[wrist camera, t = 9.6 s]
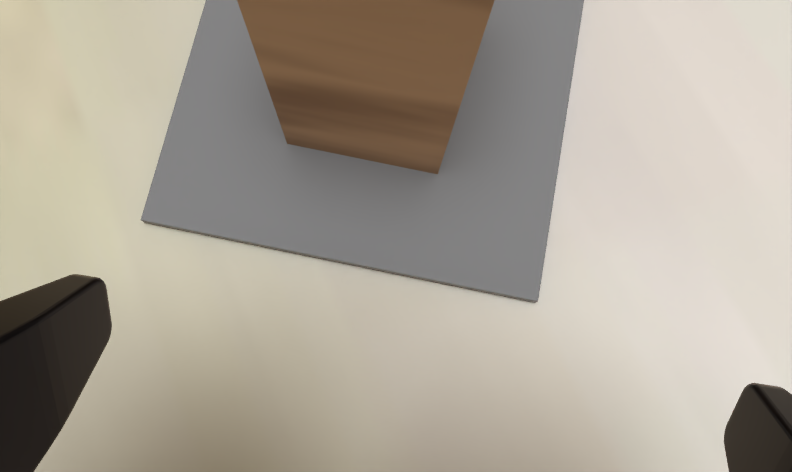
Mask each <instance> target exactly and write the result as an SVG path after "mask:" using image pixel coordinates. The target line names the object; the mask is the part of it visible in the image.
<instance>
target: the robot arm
mask: <svg viewBox="0 0 792 472" xmlns="http://www.w3.org/2000/svg"><path fill="white" fill-rule="evenodd" d="M111 328H112V323H111V316H110V309H109V302H108V295H107V289H106V285H105V283H104V281H103V280H101V279H100V278H97V277H91V276H85V275H78V274H73V275H69V276H67V277H64V278H61V279H59V280H56V281H53V282H51V283H48V284H45V285H43V286H40V287H37V288H34V289H32V290H29V291H26V292H24V293H21V294H18V295H16V296H13V297H10V298H8V299H5V300H2V301H0V472H34V470H35V469H36V467H37V466H38V464H39V463H40V461H41V460H42V458H43V457H44V455H45V454H46V452H47V451H48V449H49V448H50V446H51V445H52V443H53V442H54V440H55V439H56V437H57V436H58V434H59V432H60V431H61V429H62V427H63V426H64V424H65V422H66V420H67V419H68V417H69V415H70V413H71V411H72V409H73V408H74V406H75V404H76V402H77V400H78V398H79V396H80V394H81V392H82V390H83V388H84V387H85V385H86V383H87V381H88V379H89V377H90V375H91V373H92V371H93V369H94V368H95V366H96V364H97V362H98V360H99V358H100V356H101V354H102V352H103V350H104V348H105V347H106V345H107V343H108V340H109V338H110V335H111ZM724 445H725V451H726V457H727V463H728V468H729V472H792V394H790V393H789V392H788V391H786V390H785V389H783V388H781V387H777V386H770V385H764V384H758V383H752V384H749V385H747V386H746V387H745V388H744V390H743V391H742V393H741V396H740V398H739V400H738V402H737V404H736V406H735V408H734V410H733V413H732V415H731V417H730V419H729V421H728V423H727V426H726V429H725V433H724Z"/></svg>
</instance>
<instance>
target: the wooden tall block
mask: <svg viewBox="0 0 792 472" xmlns="http://www.w3.org/2000/svg"><path fill="white" fill-rule="evenodd" d="M237 1H238V4H239V7H240V10H241V13H242V16H243V19H244V22H245V24H246V27H247V30H248V33H249V36H250V39H251V42H252V44H253V47H254V50H255V53H256V56H257V59H258V62H259V65H260V67H261V70H262V73H263V76H264V79H265V82H266V85H267V87H268V90H269V93H270V96H271V99H272V102H273V105H274V108H275V110H276V113H277V116H278V119H279V122H280V125H281V128H282V130H283V133H284V136H285V139H286V142H287V144H291V145H296V146H301V147H305V148H310V149H315V150H320V151H325V152H330V153H335V154H340V155H345V156H350V157H355V158H359V159H364V160H369V161H374V162H379V163H384V164H389V165H394V166H399V167H404V168H409V169H413V170H418V171H423V172H428V173H433V174H438V172H439V169H440V166H441V163H442V160H443V157H444V154H445V150H446V147H447V144H448V141H449V138H450V135H451V132H452V129H453V126H454V123H455V120H456V117H457V114H458V111H459V108H460V105H461V102H462V99H463V95H464V92H465V89H466V86H467V83H468V80H469V77H470V74H471V71H472V68H473V65H474V62H475V59H476V56H477V53H478V50H479V47H480V44H481V40H482V37H483V34H484V31H485V28H486V25H487V22H488V19H489V16H490V13H491V10H492V7H493V4H494V1H495V0H237Z"/></svg>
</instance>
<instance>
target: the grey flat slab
mask: <svg viewBox="0 0 792 472" xmlns="http://www.w3.org/2000/svg"><path fill="white" fill-rule="evenodd" d="M583 2H584V0H495V1H494V4H493V7H492V10H491V13H490V16H489V19H488V22H487V25H486V28H485V31H484V34H483V37H482V40H481V44H480V47H479V50H478V53H477V56H476V59H475V62H474V65H473V68H472V71H471V74H470V77H469V80H468V83H467V86H466V89H465V92H464V95H463V99H462V102H461V105H460V108H459V111H458V114H457V117H456V120H455V123H454V126H453V129H452V132H451V135H450V138H449V141H448V144H447V147H446V150H445V154H444V157H443V160H442V163H441V166H440V169H439V172H438V174H433V173H428V172H423V171H418V170H413V169H409V168H404V167H399V166H394V165H389V164H384V163H379V162H374V161H369V160H364V159H359V158H355V157H350V156H345V155H340V154H335V153H330V152H325V151H320V150H315V149H310V148H305V147H301V146H296V145H291V144H287V142H286V139H285V136H284V133H283V130H282V128H281V125H280V122H279V119H278V116H277V113H276V110H275V108H274V105H273V102H272V99H271V96H270V93H269V90H268V87H267V85H266V82H265V79H264V76H263V73H262V70H261V67H260V65H259V62H258V59H257V56H256V53H255V50H254V47H253V44H252V42H251V39H250V36H249V33H248V30H247V27H246V24H245V22H244V19H243V16H242V13H241V10H240V7H239V4H238V1H237V0H206V2H205V6H204V9H203V12H202V16H201V19H200V22H199V26H198V29H197V32H196V36H195V39H194V43H193V46H192V49H191V53H190V56H189V59H188V63H187V66H186V69H185V73H184V76H183V80H182V83H181V86H180V90H179V93H178V96H177V100H176V103H175V107H174V110H173V113H172V117H171V120H170V123H169V127H168V130H167V133H166V137H165V140H164V144H163V147H162V150H161V154H160V157H159V160H158V164H157V167H156V170H155V174H154V177H153V181H152V184H151V187H150V191H149V194H148V197H147V201H146V204H145V208H144V211H143V214H142V218H141V220H142V221H143V222H145V223H149V224H154V225H159V226H164V227H169V228H173V229H178V230H183V231H188V232H193V233H198V234H203V235H208V236H213V237H217V238H222V239H227V240H232V241H237V242H242V243H247V244H252V245H256V246H261V247H266V248H271V249H276V250H281V251H286V252H291V253H295V254H300V255H305V256H310V257H315V258H320V259H325V260H330V261H335V262H339V263H344V264H349V265H354V266H359V267H364V268H369V269H374V270H378V271H383V272H388V273H393V274H398V275H403V276H408V277H413V278H417V279H422V280H427V281H432V282H437V283H442V284H447V285H452V286H457V287H461V288H466V289H471V290H476V291H481V292H486V293H491V294H496V295H500V296H505V297H510V298H515V299H520V300H525V301H530V302H537V301H538V297H539V291H540V284H541V277H542V271H543V264H544V258H545V251H546V245H547V238H548V232H549V225H550V218H551V212H552V205H553V199H554V192H555V186H556V179H557V173H558V166H559V160H560V153H561V146H562V140H563V133H564V127H565V120H566V114H567V107H568V101H569V94H570V87H571V81H572V74H573V68H574V61H575V55H576V48H577V42H578V35H579V28H580V22H581V15H582V9H583Z"/></svg>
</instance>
